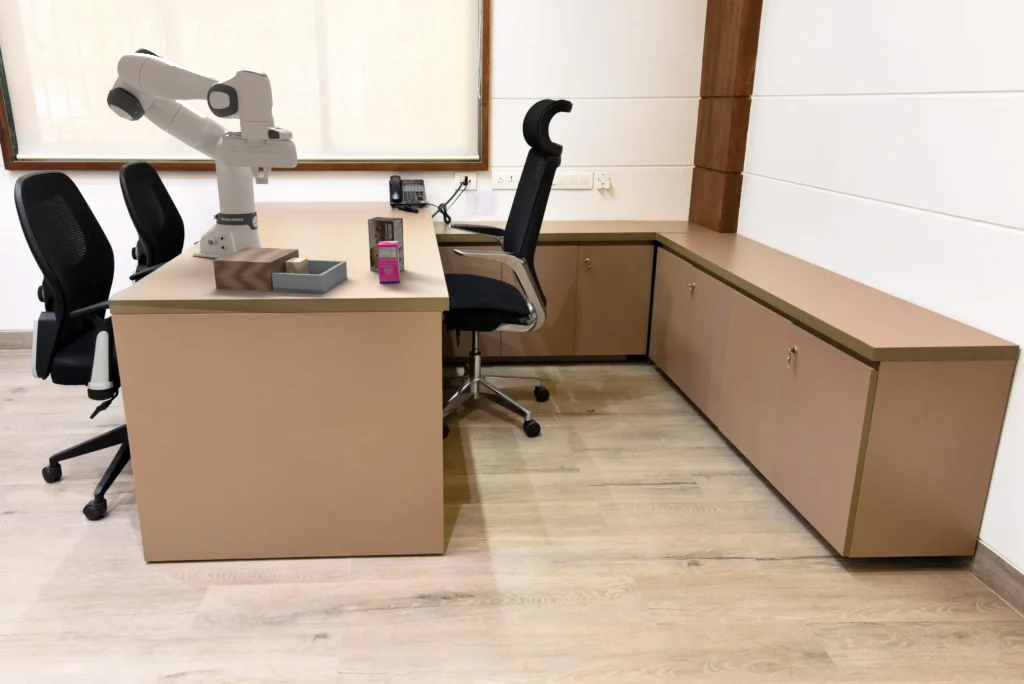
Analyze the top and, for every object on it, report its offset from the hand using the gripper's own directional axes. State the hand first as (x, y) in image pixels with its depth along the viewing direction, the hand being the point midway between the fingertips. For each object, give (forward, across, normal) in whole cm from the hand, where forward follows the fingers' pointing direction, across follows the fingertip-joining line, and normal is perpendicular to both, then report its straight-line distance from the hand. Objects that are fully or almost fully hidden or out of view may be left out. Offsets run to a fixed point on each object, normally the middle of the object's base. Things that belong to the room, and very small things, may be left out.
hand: (262, 183), depth 208 cm
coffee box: (+28, +29, +21) cm, 45 cm away
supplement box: (+28, +34, +6) cm, 44 cm away
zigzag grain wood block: (+28, -2, -2) cm, 28 cm away
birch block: (+24, +7, -2) cm, 25 cm away
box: (+28, +13, -2) cm, 31 cm away
